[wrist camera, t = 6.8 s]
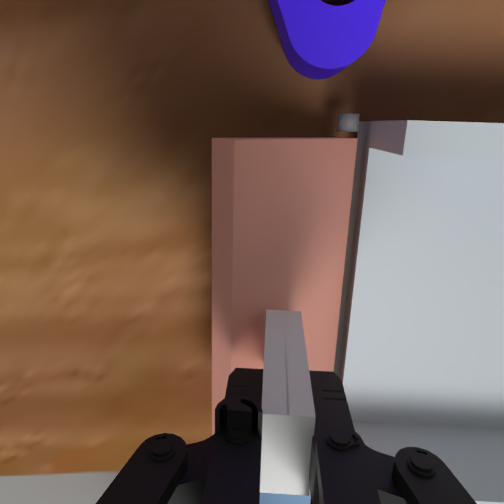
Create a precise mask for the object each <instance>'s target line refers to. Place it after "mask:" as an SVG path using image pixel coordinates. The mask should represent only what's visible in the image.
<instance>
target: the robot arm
mask: <svg viewBox="0 0 504 504" xmlns="http://www.w3.org/2000/svg"><path fill="white" fill-rule="evenodd" d="M309 488H310V493H311V503H310V504H477V503H476V502H475V500H474V499H473V498H472V497H471V495H470V494H469V493H468V492H467V490H466V489H465V488H464V487H463V485H462V484H461V483H460V482H459V480H458V479H457V478H456V477H455V475H454V474H453V473H452V472H451V470H450V469H449V468H448V467H447V465H446V464H445V463H444V462H443V461H442V460H441V459H440V458H439V457H438V456H437V455H435V454H433V453H431V452H430V451H428V450H425V449H422V448H418V447H405V448H402V449H400V450H399V451H398V452H397V453H396V454H395V457H393V456H390V455H387V454H384V453H380V452H378V451H375V450H373V449H371V448H370V447H368V446H366V445H365V444H364V442H363V440H362V438H361V436H360V435H359V434H358V433H357V432H355V429H354V425H353V422H352V418H351V414H350V410H349V406H348V402H347V399H346V395H345V393H344V387H343V383H342V380H341V379H340V378H339V377H338V376H337V375H336V374H335V373H334V372H329V371H310V370H309V366H308V358H307V351H306V344H305V337H304V330H303V322H302V315H301V311H289V310H267V309H266V327H265V347H264V368H263V369H252V368H235V369H234V371H233V372H232V373H231V374H230V375H229V377H228V383H227V388H226V394H225V399H223V400H222V401H220V402H219V403H218V404H217V406H216V408H215V434H213V435H212V436H211V437H210V438H208V439H206V440H204V441H200V442H197V443H192V444H187V445H186V443H185V441H184V440H183V439H182V438H181V437H179V436H177V435H174V434H167V433H163V434H158V435H154V436H152V437H150V438H148V439H146V440H145V441H144V442H143V443H142V444H141V445H140V446H139V447H138V449H137V450H136V451H135V453H134V454H133V455H132V457H131V458H130V459H129V460H128V462H127V463H126V464H125V466H124V467H123V468H122V470H121V471H120V472H119V474H118V475H117V476H116V478H115V479H114V480H113V482H112V483H111V484H110V486H109V487H108V488H107V490H106V491H105V492H104V494H103V495H102V496H101V497H100V499H99V500H98V501H97V503H96V504H259V495H260V492H264V493H279V494H295V495H309Z"/></svg>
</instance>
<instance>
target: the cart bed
mask: <svg viewBox="0 0 504 504" xmlns="http://www.w3.org/2000/svg"><path fill="white" fill-rule="evenodd" d="M359 117H360V114H351V113H338V123H337V131H351V132H358V133H357V138H358V140H357V149H356V159H355V169H354V178H353V188H352V198H351V207H350V217H349V226H348V236H347V246H346V255H345V265H344V275H343V284H342V294H341V304H340V313H339V323H338V333H337V342H336V352H335V362H334V371H333V372H334V373H335V374H336V375H337V376H338V377H339V378H340V379H341V380H342V383H343V387H344V393H345V395H346V399H347V402H348V406H349V410H350V414H351V418H352V422H353V425H354V429H355V432H357V433H358V434H359V435H360V436H361V438H362V440H363V442H364V444H365V445H366V446H368V447H370V448H371V449H373V450H375V451H378V452H380V453H384V454H387V455H390V456H393V457H395V454H396V453H397V452H398V451H399V450H400V449H402V448H405V447H418V448H422V449H425V450H428V451H430V452H431V453H433V454H435V455H437V456H438V457H439V458H440V459H441V460H442V461H443V462H444V463H445V464H446V465H447V467H448V468H449V469H450V470H451V472H452V473H453V474H454V475H455V477H456V478H457V479H458V480H459V482H460V483H461V484H462V485H463V487H464V488H465V489H466V490H467V492H468V493H469V494H470V495H471V497H472V498H473V499H474V500H475V502H476V503H477V504H504V123H483V122H450V121H417V120H394V121H359Z"/></svg>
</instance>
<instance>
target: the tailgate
mask: <svg viewBox="0 0 504 504" xmlns="http://www.w3.org/2000/svg"><path fill="white" fill-rule="evenodd" d="M357 140H358V138H343V137H270V138H212V435H213V434H215V408H216V406H217V404H218V403H219V402H220V401H222V400H223V399H225V394H226V388H227V383H228V377H229V375H230V374H231V373H232V372H233V371H234V369H235V368H252V369H263V368H264V347H265V327H266V309H267V310H289V311H301V315H302V322H303V330H304V337H305V344H306V351H307V358H308V366H309V370H310V371H329V372H333V371H334V362H335V352H336V342H337V333H338V323H339V313H340V304H341V294H342V284H343V275H344V265H345V255H346V246H347V236H348V226H349V217H350V207H351V198H352V188H353V178H354V169H355V159H356V149H357Z"/></svg>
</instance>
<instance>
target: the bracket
mask: <svg viewBox="0 0 504 504" xmlns="http://www.w3.org/2000/svg"><path fill="white" fill-rule="evenodd" d="M268 1H269V4H270V7H271V10H272V13H273V17H274V20H275V23H276V26H277V29H278V33H279V36H280V39H281V42H282V45H283V49H284V52H285V55H286V57H287V59H288V61H289V63H290V65H291V66H292V67H293V68H294V69H295V70H296V71H297V72H298V73H300V74H301V75H303V76H305V77H308V78H312V79H325V78H329V77H331V76H334V75H335V74H337V73H339V72H340V71H342V70H343V69H344V68H346V67H347V66H348V65H350V64H351V63H353V62H354V61H355V60H357V59H358V58H359V57H360V56H361V55H363V53H364V52H365V51H366V50H367V49H368V47H369V46H370V44H371V43H372V41H373V39H374V36H375V34H376V30H377V27H378V24H379V20H380V17H381V14H382V10H383V7H384V3H385V0H352V1H351V3H349V4H346V5H342V6H333V5H329V4H326V3H324V2H322V1H321V0H268Z"/></svg>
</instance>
